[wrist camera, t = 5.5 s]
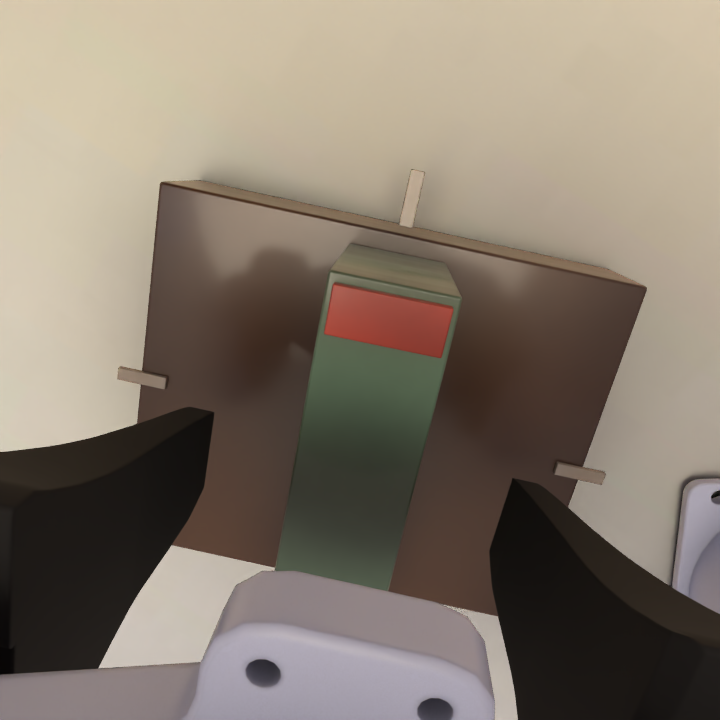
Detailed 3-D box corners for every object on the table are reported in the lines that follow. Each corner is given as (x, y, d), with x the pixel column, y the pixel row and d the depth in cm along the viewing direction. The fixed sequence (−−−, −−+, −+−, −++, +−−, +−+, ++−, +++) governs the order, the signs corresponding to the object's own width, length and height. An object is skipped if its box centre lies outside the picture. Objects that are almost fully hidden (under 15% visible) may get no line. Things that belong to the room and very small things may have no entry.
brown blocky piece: (647, 221, 18) (698, 231, 15) (513, 603, 22) (531, 671, 19) (183, 120, 18) (139, 110, 15) (142, 521, 22) (101, 576, 19)
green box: (370, 576, 18) (360, 706, 14) (289, 559, 19) (253, 684, 14) (446, 263, 15) (464, 300, 11) (348, 242, 15) (326, 271, 11)
